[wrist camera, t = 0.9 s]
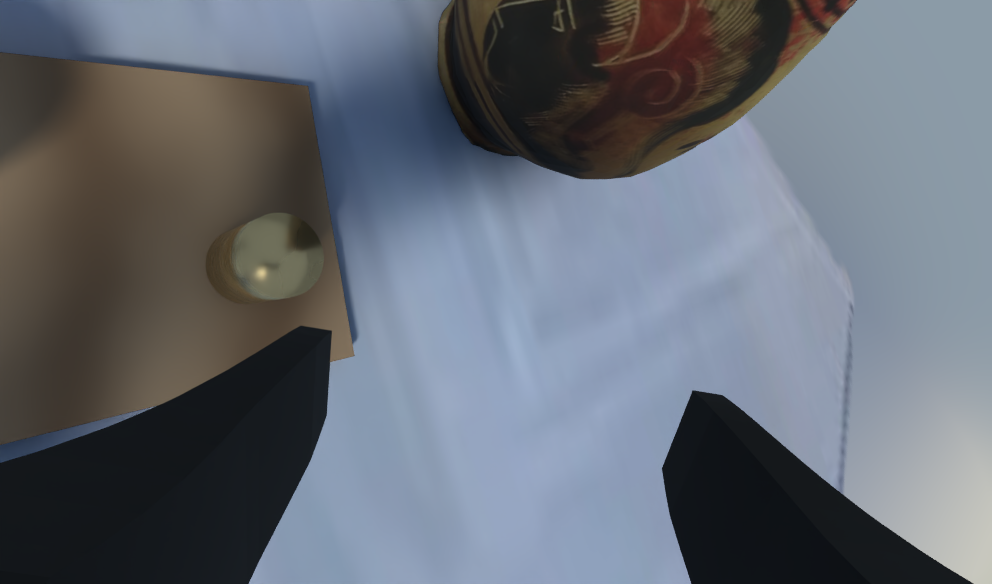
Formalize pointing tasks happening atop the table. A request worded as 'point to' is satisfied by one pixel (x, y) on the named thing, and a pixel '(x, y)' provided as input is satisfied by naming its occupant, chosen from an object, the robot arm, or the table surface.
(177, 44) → the table surface
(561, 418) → the table surface
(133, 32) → the table surface
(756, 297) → the table surface
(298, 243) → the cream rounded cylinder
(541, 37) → the ceramic jug
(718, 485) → the robot arm
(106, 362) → the walnut board
